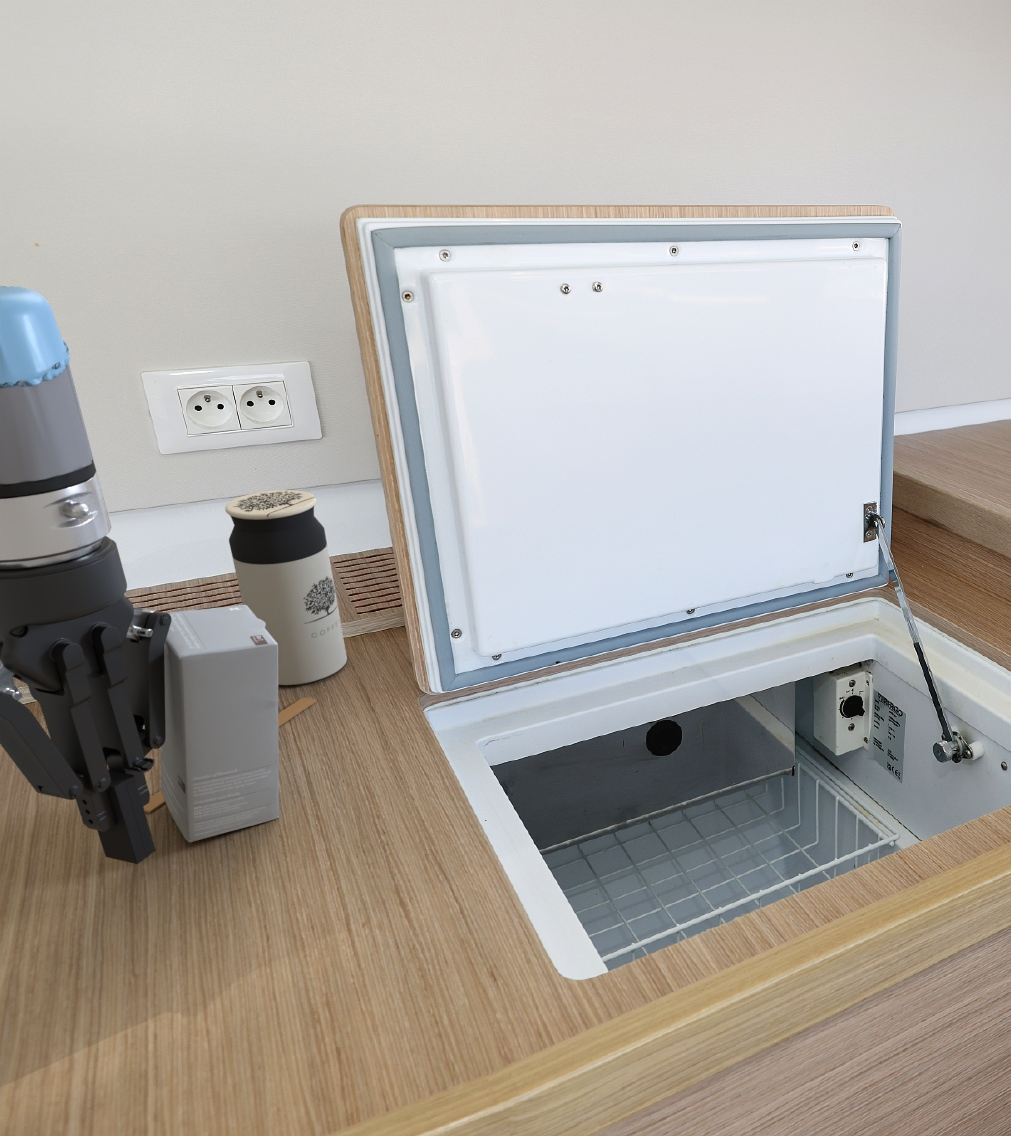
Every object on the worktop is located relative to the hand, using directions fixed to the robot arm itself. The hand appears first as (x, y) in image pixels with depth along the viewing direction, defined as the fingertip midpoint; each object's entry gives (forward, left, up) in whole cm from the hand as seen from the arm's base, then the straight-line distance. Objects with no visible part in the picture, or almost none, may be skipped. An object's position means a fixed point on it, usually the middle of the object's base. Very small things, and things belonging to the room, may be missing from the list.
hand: (130, 853), depth 68 cm
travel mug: (-11, +29, -2) cm, 31 cm away
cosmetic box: (0, +8, -2) cm, 8 cm away
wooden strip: (-6, +15, -2) cm, 16 cm away
